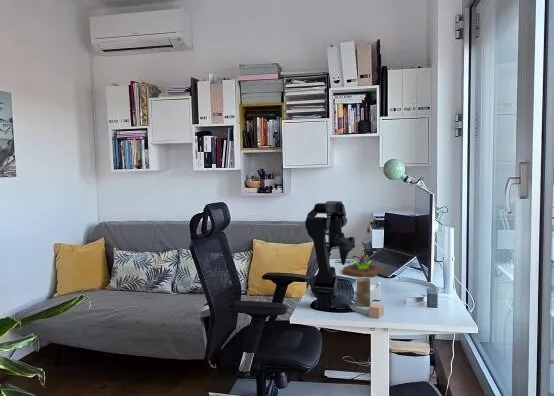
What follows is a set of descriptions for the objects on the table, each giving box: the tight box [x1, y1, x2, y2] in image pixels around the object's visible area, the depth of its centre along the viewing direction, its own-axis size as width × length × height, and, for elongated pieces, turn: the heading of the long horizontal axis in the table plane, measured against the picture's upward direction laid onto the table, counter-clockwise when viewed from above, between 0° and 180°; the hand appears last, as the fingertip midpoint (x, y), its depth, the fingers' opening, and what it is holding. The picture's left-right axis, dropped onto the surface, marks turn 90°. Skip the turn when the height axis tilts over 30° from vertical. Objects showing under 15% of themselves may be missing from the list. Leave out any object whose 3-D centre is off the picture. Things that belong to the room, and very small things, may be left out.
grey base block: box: [348, 302, 374, 316], centre depth 183 cm, size 8×8×2 cm
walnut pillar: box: [356, 277, 371, 307], centre depth 183 cm, size 5×5×10 cm
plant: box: [342, 252, 383, 278], centre depth 242 cm, size 20×20×11 cm
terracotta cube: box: [368, 303, 385, 319], centre depth 175 cm, size 4×4×4 cm
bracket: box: [370, 281, 382, 303], centre depth 200 cm, size 13×7×8 cm, turn 0°
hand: (335, 266), depth 201 cm, fingers open, 9 cm apart
